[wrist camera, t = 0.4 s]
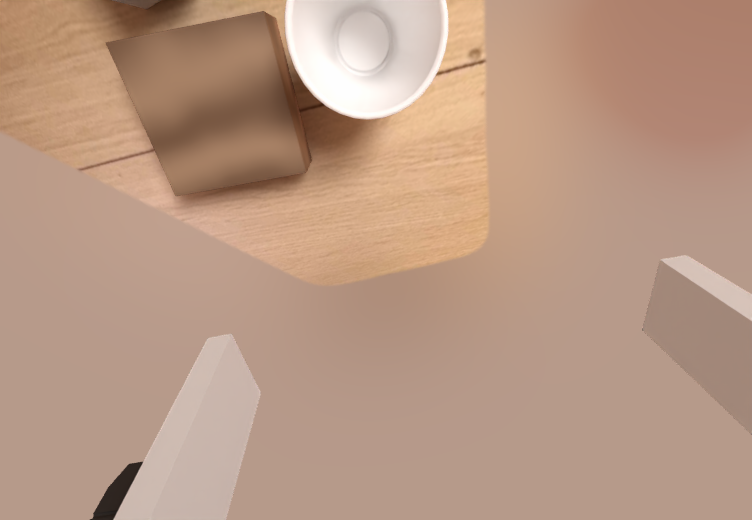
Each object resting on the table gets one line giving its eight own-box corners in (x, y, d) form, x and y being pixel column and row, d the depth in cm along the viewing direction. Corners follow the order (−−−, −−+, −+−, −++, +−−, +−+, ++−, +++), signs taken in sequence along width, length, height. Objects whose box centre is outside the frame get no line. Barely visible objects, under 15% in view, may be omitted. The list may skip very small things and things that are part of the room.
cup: (365, 127, 35) (369, 151, 25) (282, 42, 31) (249, 33, 21) (443, 41, 32) (482, 31, 22) (361, -63, 28) (364, -130, 18)
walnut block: (141, 45, 31) (105, 42, 27) (276, 18, 31) (263, 11, 26) (197, 180, 37) (175, 196, 32) (312, 159, 36) (306, 172, 32)
